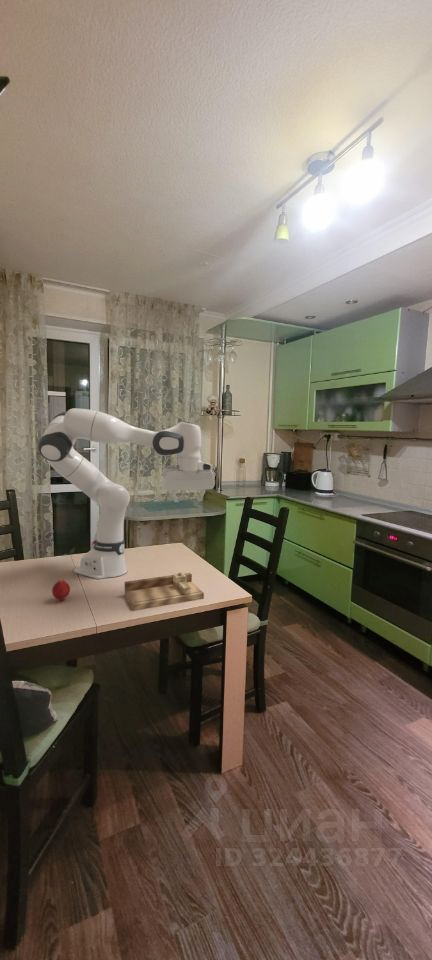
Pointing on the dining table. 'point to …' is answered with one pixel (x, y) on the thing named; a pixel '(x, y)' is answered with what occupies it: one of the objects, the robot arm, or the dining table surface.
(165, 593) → the wooden tray
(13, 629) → the dining table surface
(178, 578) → the gauge
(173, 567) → the dining table surface
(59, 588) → the onion
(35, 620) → the dining table surface
